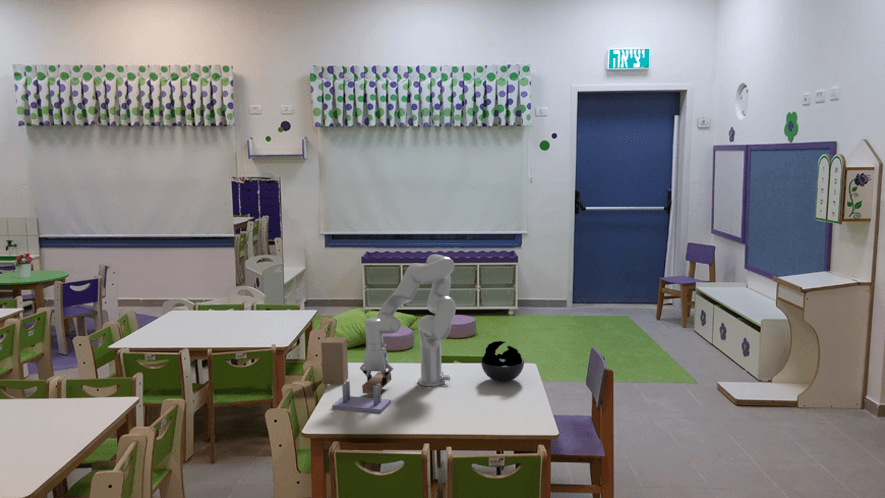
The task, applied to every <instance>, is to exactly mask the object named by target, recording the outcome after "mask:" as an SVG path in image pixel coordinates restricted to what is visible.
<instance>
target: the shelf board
mask: <svg viewBox="0 0 885 498" xmlns="http://www.w3.org/2000/svg"><path fill="white" fill-rule="evenodd" d="M382 377H383V375H382V373H381V372H379V371H377V373H376V374H374V375H373V376H372V378H371V379H370V380H368V381H366V382H365V383H364V384H362V387H361V389H362V394H369V395H373V386H376V384H380V391H382V389H383V388H384V387H385V386H383V385H382ZM391 381H392V373H391V372H390V373H389V374H388V375H387V384H389V383H390V382H391Z"/></svg>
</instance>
